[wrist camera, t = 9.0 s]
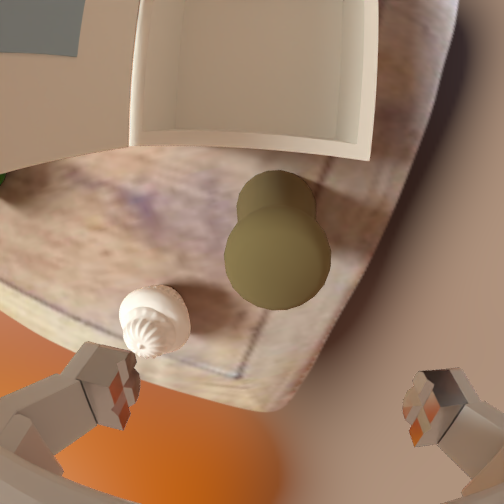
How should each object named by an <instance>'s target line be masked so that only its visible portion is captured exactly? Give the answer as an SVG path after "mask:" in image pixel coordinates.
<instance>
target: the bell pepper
mask: <svg viewBox="0 0 504 504" xmlns="http://www.w3.org/2000/svg"><path fill="white" fill-rule="evenodd" d="M5 175H6V173H3V174H0V185H1V184H2V182H3V180H4V179H5Z"/></svg>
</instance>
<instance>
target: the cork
mask: <svg viewBox="0 0 504 504" xmlns="http://www.w3.org/2000/svg"><path fill="white" fill-rule="evenodd" d="M237 217H238V223H237V224H236V226H235V227H234V229H233V230H232V232H231V234H230V235H229V237H228V240H227V244H226V248H225V252H224V260H225V269H226V273H227V276H228V278H229V280H230V282H231V284H232V287H233V288H234V289H235V290H236V291H237V292H238V294H239V295H240V296H241V297H242V298H243V299H245V300H247V301H248V302H250V303H252V304H254V305H255V306H257V307H261V308H265V309H269V310H287V309H291V308H294V307H297V306H300V305H302V304H304V303H305V302H307V301H308V300H310V299H311V298H313V297H314V296H315V295H316V294H317V293H318V292H319V290H320V289H321V288H322V287H323V285H324V284H325V281H326V279H327V276H328V274H329V271H330V266H331V249H330V246H329V243H328V240H327V237H326V234H325V232H324V231H323V229H322V228H321V227H320V225H319V224H318V223H317V222H316V202H315V199H314V196H313V193H312V190H311V189H310V188H309V187H308V185H307V184H306V183H305V182H304V180H302V179H301V178H299V177H298V176H296V175H295V174H293V173H289V172H285V171H282V170H275V171H266V172H263V173H261V174H258V175H256V176H255V177H253V178H252V179H251V180H250V181H248V182H247V183H246V184H245V186H244V187H243V189H242V191H241V192H240V194H239V198H238V202H237Z"/></svg>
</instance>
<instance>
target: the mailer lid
mask: <svg viewBox="0 0 504 504" xmlns="http://www.w3.org/2000/svg"><path fill="white" fill-rule="evenodd" d="M138 7H139V0H0V174H3V173H7V172H10V171H14V170H18V169H22V168H26V167H30V166H34V165H38V164H42V163H47V162H51V161H56V160H60V159H65V158H70V157H75V156H80V155H85V154H90V153H96V152H102V151H107V150H113V149H120V148H126V147H128V137H129V103H130V84H131V70H132V58H133V48H134V38H135V29H136V21H137V14H138Z"/></svg>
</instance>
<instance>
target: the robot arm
mask: <svg viewBox="0 0 504 504" xmlns="http://www.w3.org/2000/svg"><path fill="white" fill-rule="evenodd" d="M136 363H137V361H136V357H135V353H133V352H132V351H128V350H124V349H119V348H115V347H111V346H106V345H100V344H97V343H93V342H89V341H88V342H85V343H84V344H83V345H82V346H81V347H80V349H79V350H78V351H77V353H76V354H75V355H74V357H73V358H72V359H71V361H70V362H69V363H68V365H67V366H66V367H65V369H64V370H63V371H62V373H61V374H54V375H51V376H49V377H47V378H45V379H42V380H40V381H38V382H36V383H33V384H31V385H29V386H26V387H24V388H22V389H20V390H17V391H15V392H13V393H10V394H8V395H6V396H4V397H1V398H0V504H140V503H136V502H133V501H129V500H126V499H122V498H119V497H116V496H113V495H109V494H107V493H104V492H101V491H98V490H95V489H92V488H89V487H87V486H84V485H81V484H79V483H76V482H74V481H71V480H69V479H66V478H64V477H62V474H63V472H64V471H63V469H62V467H61V465H60V464H59V462H58V461H57V460H56V458H55V457H54V455H56V454H57V453H58V452H60V451H61V450H63V449H64V448H66V447H67V446H69V445H70V444H72V443H73V442H74V441H76V440H77V439H79V438H80V437H82V436H83V435H84V434H86V433H87V432H89V431H90V430H91V429H93V428H94V427H96V426H97V424H99V425H103V426H107V427H111V428H115V429H119V430H124V428H125V426H126V423H127V421H128V419H129V417H130V414H131V413H130V410H129V407H130V406H131V405H133V404H135V403H136V401H137V399H138V396H139V391H140V376H139V373H138V372H137V371H136V370H135V369H134V367H135V365H136ZM412 382H413V385H414V386H413V387H412V388H411V389H409V390H408V391H407V392H406V395H405V397H404V399H403V406H402V409H403V415H404V418H405V420H406V421H407V422H408V423H409V424H411V427H410V430H409V433H410V436H411V439H412V442H413V445H414V447H421V446H429V445H435V444H438V445H437V446H438V447H439V448H440V449H441V450H442V451H443V452H444V453H445V454H446V455H447V456H448V457H449V458H450V459H451V460H452V461H453V462H454V463H455V464H457V466H458V467H459V468H461V469H462V470H463V471H464V472H465V473H466V474H467V475H468V476H469V477H470V478H471V479H472V480H471V482H469V484H467V486H465V487H464V488H463V490H462V492H461V493H462V497H461V498H458V499H455V500H452V501H449V502H445V503H441V504H504V413H503V412H501V411H500V410H498V409H497V408H495V407H493V406H492V405H490V404H489V403H487V402H486V401H481V400H480V398H479V396H478V395H477V393H476V391H475V390H474V388H473V386H472V384H471V383H470V381H469V379H468V378H467V376H466V375H465V373H464V371H463V370H462V369H461V368H459V367H457V368H448V369H439V370H426V371H418V372H417V373H416V374H415V376H414V378H413V380H412Z"/></svg>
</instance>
